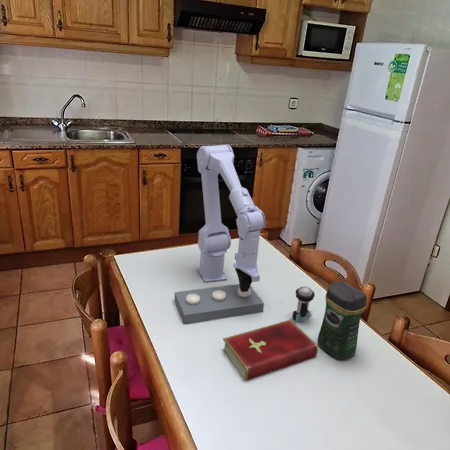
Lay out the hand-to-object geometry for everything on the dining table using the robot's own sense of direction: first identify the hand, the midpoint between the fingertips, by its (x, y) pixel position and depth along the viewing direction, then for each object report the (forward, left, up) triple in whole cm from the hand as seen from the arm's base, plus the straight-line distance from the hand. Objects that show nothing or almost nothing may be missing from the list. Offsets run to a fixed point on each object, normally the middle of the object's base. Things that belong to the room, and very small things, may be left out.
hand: (244, 290), depth 123 cm
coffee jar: (+26, +16, -4) cm, 31 cm away
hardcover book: (+23, -2, -5) cm, 24 cm away
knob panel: (0, -8, -4) cm, 9 cm away
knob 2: (0, 0, -3) cm, 3 cm away
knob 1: (0, -16, -3) cm, 16 cm away
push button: (+12, +14, -4) cm, 19 cm away
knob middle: (0, -8, -3) cm, 9 cm away
